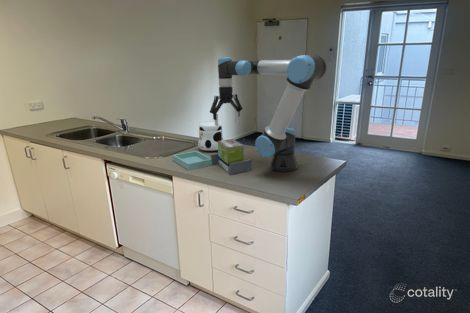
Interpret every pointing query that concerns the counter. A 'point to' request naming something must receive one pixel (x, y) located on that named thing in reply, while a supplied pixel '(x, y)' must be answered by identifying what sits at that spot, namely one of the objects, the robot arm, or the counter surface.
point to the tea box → (229, 153)
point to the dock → (234, 165)
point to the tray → (192, 160)
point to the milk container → (209, 136)
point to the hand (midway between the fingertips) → (226, 124)
